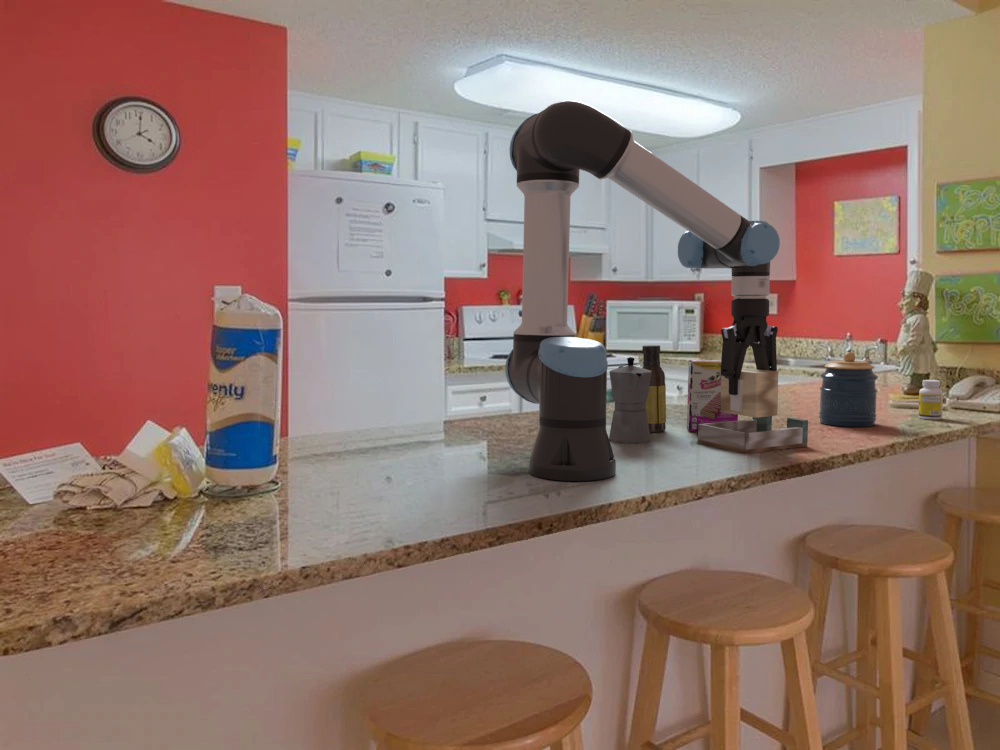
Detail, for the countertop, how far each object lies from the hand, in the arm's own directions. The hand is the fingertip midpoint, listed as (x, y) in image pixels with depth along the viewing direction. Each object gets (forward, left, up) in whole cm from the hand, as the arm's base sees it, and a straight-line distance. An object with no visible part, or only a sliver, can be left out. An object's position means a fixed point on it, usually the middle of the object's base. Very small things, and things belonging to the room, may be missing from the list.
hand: (748, 409), depth 170 cm
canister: (+44, +11, -8) cm, 46 cm away
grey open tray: (+1, 0, -8) cm, 8 cm away
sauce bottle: (-5, +25, -8) cm, 27 cm away
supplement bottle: (+70, +7, -8) cm, 71 cm away
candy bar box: (+7, +18, -8) cm, 21 cm away
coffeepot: (-17, +18, -8) cm, 26 cm away
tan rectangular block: (0, 0, -1) cm, 1 cm away
